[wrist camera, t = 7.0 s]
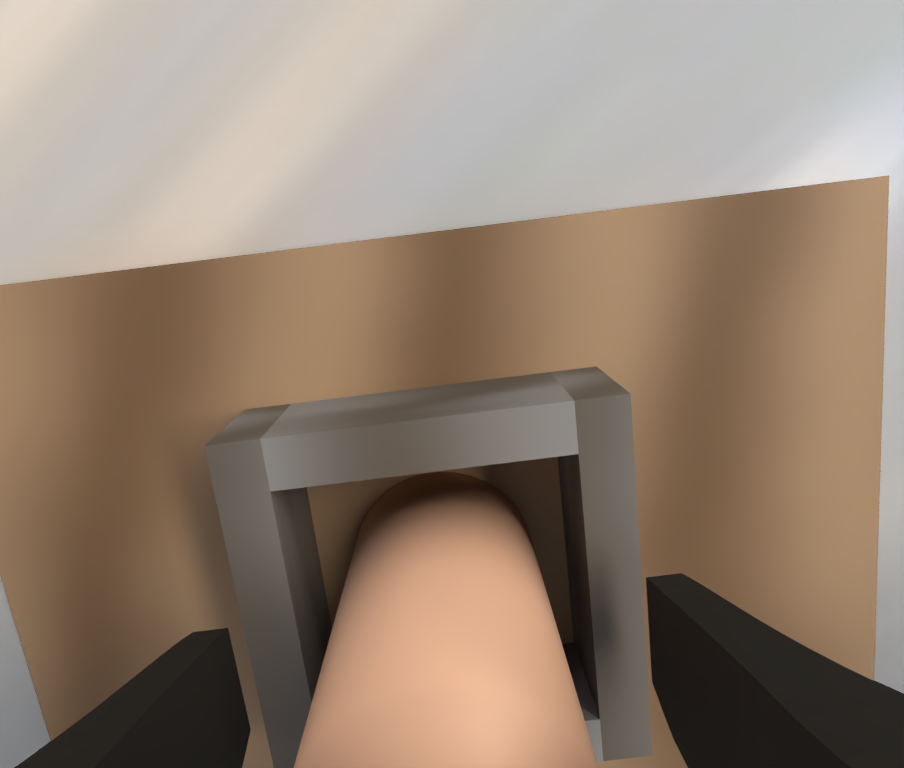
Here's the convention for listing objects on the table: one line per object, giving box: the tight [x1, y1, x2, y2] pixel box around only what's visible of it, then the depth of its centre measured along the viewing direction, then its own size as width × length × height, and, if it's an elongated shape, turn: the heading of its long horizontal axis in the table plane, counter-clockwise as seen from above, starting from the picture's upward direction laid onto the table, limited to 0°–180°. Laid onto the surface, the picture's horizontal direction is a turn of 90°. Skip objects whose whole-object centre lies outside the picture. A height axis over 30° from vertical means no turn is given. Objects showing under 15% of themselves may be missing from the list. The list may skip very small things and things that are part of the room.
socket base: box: [0, 176, 889, 768], centre depth 14 cm, size 20×14×4 cm
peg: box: [294, 472, 599, 768], centre depth 11 cm, size 4×4×7 cm
